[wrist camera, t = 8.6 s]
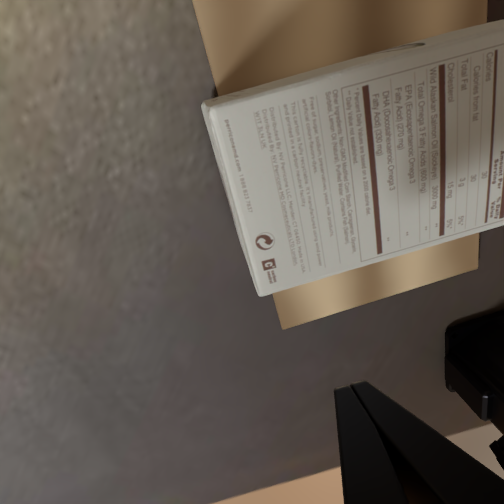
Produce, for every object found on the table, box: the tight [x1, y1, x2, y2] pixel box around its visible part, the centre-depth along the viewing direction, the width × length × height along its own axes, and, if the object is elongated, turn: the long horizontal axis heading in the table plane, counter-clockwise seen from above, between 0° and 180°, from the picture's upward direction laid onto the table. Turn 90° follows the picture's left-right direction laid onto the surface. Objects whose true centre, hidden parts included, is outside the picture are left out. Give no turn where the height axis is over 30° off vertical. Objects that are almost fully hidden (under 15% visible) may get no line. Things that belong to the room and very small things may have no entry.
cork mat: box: [192, 0, 488, 330], centre depth 19 cm, size 14×22×1 cm, turn 15°
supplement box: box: [201, 19, 504, 296], centre depth 15 cm, size 7×7×13 cm
